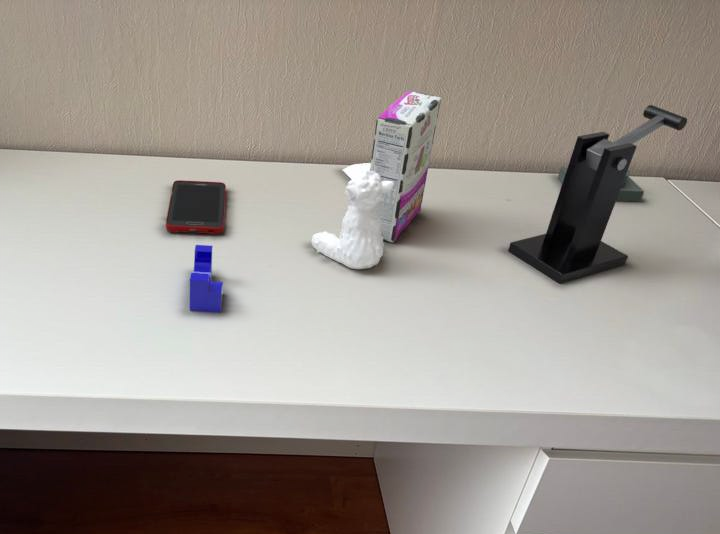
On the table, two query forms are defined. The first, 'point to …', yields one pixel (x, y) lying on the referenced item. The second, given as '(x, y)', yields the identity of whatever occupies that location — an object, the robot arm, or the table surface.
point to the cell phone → (196, 207)
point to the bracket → (580, 216)
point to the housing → (627, 191)
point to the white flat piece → (356, 169)
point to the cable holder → (204, 283)
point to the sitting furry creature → (358, 224)
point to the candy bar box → (404, 158)
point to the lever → (636, 132)
